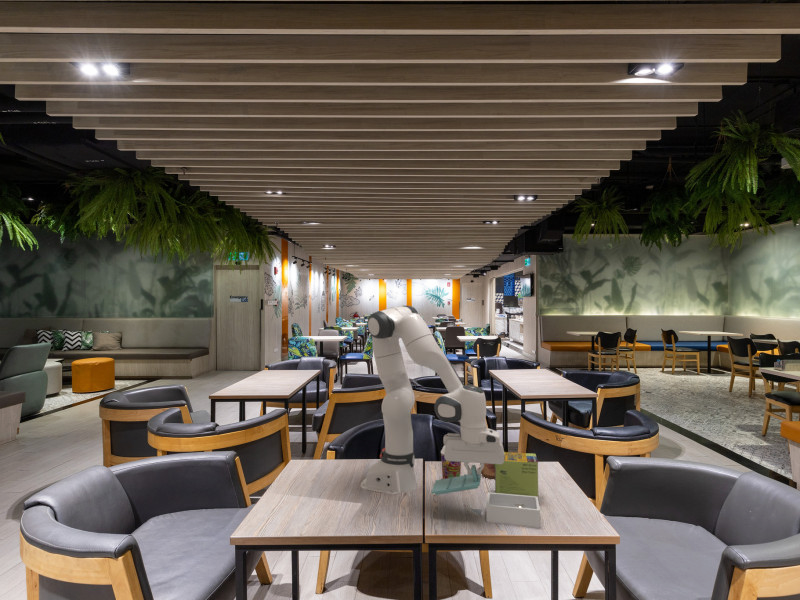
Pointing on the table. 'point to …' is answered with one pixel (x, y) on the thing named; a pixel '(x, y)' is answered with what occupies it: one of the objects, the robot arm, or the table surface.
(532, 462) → the protein box
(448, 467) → the smoothie
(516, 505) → the ball
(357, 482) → the table surface
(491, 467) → the plant
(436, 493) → the lid
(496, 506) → the tub
